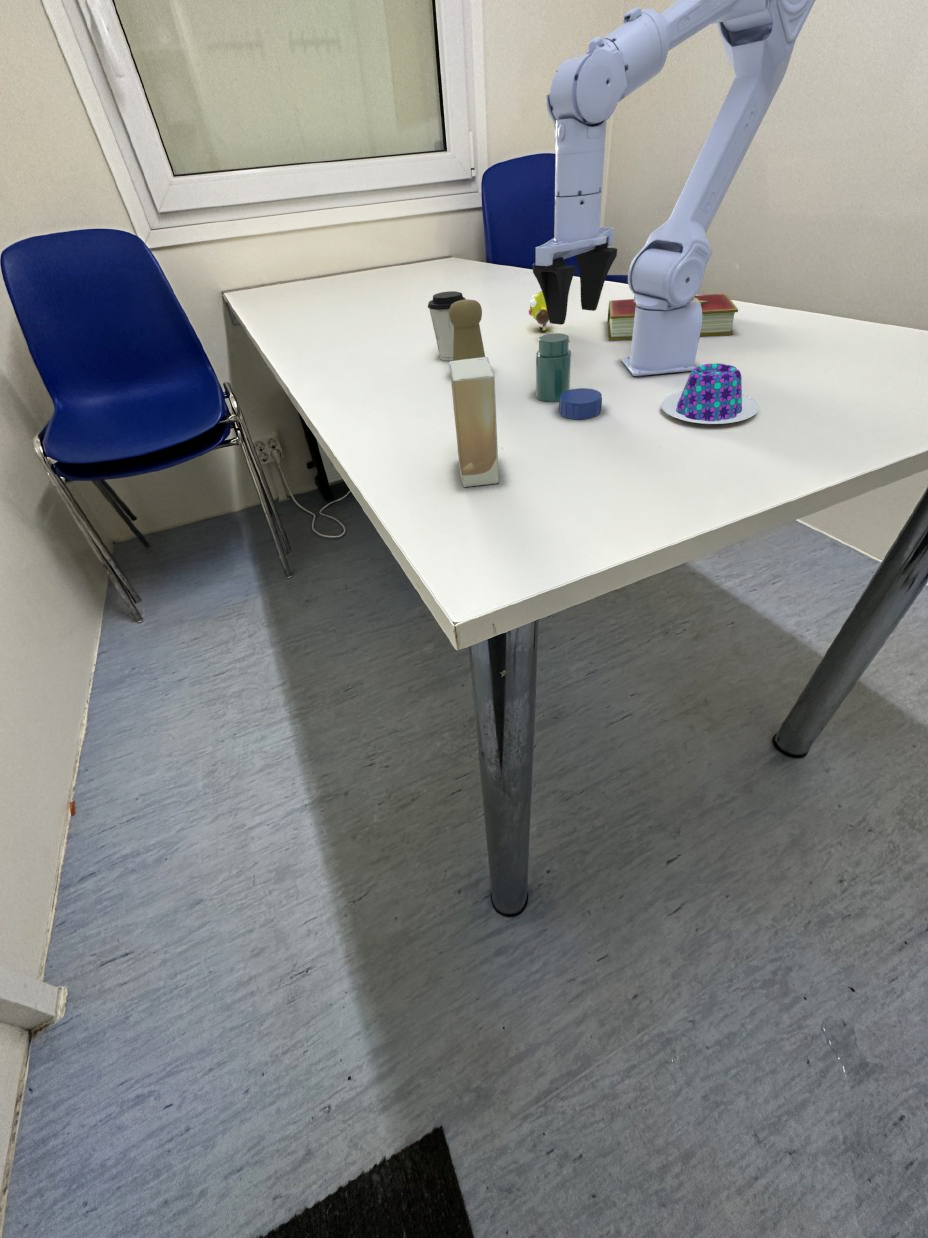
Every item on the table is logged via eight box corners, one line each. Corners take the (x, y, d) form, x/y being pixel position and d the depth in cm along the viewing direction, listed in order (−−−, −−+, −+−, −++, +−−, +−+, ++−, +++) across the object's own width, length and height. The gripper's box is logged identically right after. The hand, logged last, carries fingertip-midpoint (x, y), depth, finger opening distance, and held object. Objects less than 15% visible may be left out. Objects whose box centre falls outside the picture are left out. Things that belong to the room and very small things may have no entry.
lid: (556, 418, 75) (556, 402, 73) (563, 403, 79) (563, 387, 77) (598, 420, 73) (599, 403, 72) (603, 404, 77) (604, 388, 76)
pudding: (726, 389, 77) (735, 349, 74) (776, 420, 68) (789, 377, 65) (645, 401, 76) (650, 362, 73) (685, 435, 67) (693, 392, 64)
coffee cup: (427, 361, 99) (419, 299, 92) (443, 350, 103) (436, 289, 97) (462, 363, 96) (457, 299, 90) (476, 350, 101) (472, 289, 94)
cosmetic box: (458, 464, 67) (448, 359, 59) (493, 460, 67) (487, 354, 59) (462, 489, 62) (451, 378, 54) (500, 485, 62) (494, 373, 54)
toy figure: (531, 319, 114) (530, 281, 110) (557, 317, 113) (558, 279, 109) (526, 344, 101) (525, 303, 97) (556, 343, 100) (557, 301, 96)
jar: (565, 387, 83) (567, 330, 78) (572, 399, 79) (575, 340, 74) (533, 391, 83) (532, 334, 78) (539, 403, 79) (539, 344, 74)
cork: (484, 380, 89) (480, 304, 81) (448, 381, 90) (441, 306, 83) (491, 367, 93) (487, 294, 86) (456, 368, 94) (450, 296, 87)
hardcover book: (607, 322, 107) (609, 298, 104) (720, 316, 103) (725, 291, 101) (608, 340, 99) (610, 314, 96) (732, 334, 95) (738, 307, 92)
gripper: (570, 201, 61) (566, 333, 70) (638, 184, 68) (626, 306, 77) (521, 202, 65) (523, 327, 74) (591, 186, 72) (585, 301, 81)
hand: (573, 316), depth 76 cm, fingers open, 7 cm apart
